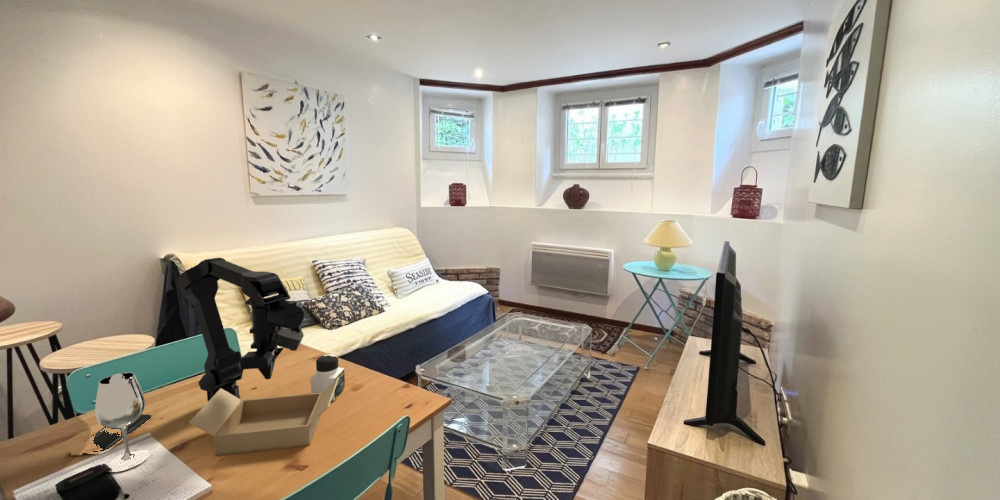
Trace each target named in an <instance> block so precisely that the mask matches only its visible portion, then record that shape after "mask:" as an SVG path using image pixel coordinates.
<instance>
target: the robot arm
mask: <svg viewBox="0 0 1000 500" xmlns="http://www.w3.org/2000/svg"><path fill="white" fill-rule="evenodd" d="M220 280H222V281H225V282H227V283H229V284H231V285H235V286H236V287H239V288H240V289H241V293H242V294H243V295H245V296H246V297H248V298H249V299H247V300H246V301H245V305H248V306H251V322H252V323H251V324H252V327H251V328H250V329H249V334H252V339H253V342H252V343H251V344H250V350H251V349H252V350H255V351H248V352H247V353H245V354H244V356H242V354H241V352H240V351H239V350H237V351H235V350H233V349H232V348H231V347H230V345H229V341H228V338H227V334H226V331H225V328H224V325H223V321H222V319H221V318H222V317H221V315H220V312H219V308H218V306H217V301H216V296H217V294H218V290H219V289H220V288H219V281H220ZM176 286H177V288H178V289H179V290H180V292H181V293H180V294H181V295H182V297H183V298H185V300H187V301H189V302H190V303H191V304H192V306H193V308H194V311H195V315H196V319H197V321H198V324H199V327H200V331H201V335H202V338H203V341H204V342H203V343H204V344H205V347H206V352H207V356H206V360H205V362H204V364H203V367H204V372H205V373H204V374H203V375H202V377H201V378H200V380H199V381H198V385H199V389H200V390H202V391H205V392H206V398H207V402H208V401H209V400H210V399H211V398H212V397H213V396H214V395H215V394H216V393H217V392H218V391H219V390H220V388H221V389H223V390H225V391H227V392H228V393H230V394H232V395H234V396H235V397H237V398H239V399H241V395H240V387H239V385H237V381H240V380H242V378H243V373H244V371H245V370H255V369H256V370H258V371H259V372H260V373H261V375H262V376H263V377H264V379H265V380H271V379H272V377H273V372H274V368H275V365H276V360H277V358H278V357H279V355H280V354H281V353H282V352H283V351H284V349H288V350H289V351H292V352H294V351H297V350H298V348H299V347H300V345H301V343H302V341H303V338H304V337H305V335H304V332H303V330H302V326H301V324H302V323H303V320H304V318H305V312H304V310H303V308H302V307H301V306H299V305H297V303H298V302H297V301H296V300H290V299H291V296H290V294H289V291H288V289H286V286H285V285H284V284H283V282H282V280H281V278H280V277H279V275H278V274H277V273H275V272H271V271H254V270H250V269H249V268H245V267H243V266H240V265H237V264H235V263H232V262H230V261H227V260H226V259H225V258H223V257H214V258H212V257H211V258H207V259H204V260H202V261H200V262H199V263H198V264H196V265H194V266H192V267H190V268H189V269H186V270H185V271H184V272H182V273H180V274H179V277H177V280H176Z"/></svg>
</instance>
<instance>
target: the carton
mask: <svg viewBox="0 0 1000 500" xmlns="http://www.w3.org/2000/svg"><path fill="white" fill-rule="evenodd" d="M321 394H322V393H303V394H301V393H300V394H292V395H280V396H271V397H269V396H268V397H261V398H250V399H241V401H240V403H239V404H238V405H237V407H236V408H235V409H234V410H233V412H232V413H231V414H230V415H229V417H228V418H227V419H226V421H225V422H224V423H223V424H222V426H221V427H220V428H219V429H218V431H217V432H216V433H215V435H214V436H213V442H214V444H213V445H214V453H215V455H214V456H215V457H221V456H229V455H238V454H246V453H255V452H261V451H262V452H264V451H271V450H278V449H287V448H295V447H304V446H310V445H311V443H312V441H313V440H312V439H313V438H314V435H315V431H316V430H317V427H318V425H319V421H320V420H321V419H320V418H321V417H322V414H321V415H320V416H319V417H318V418H317V419H316V420H315V421H314V422H313V423H312V424H311V425H309V423H310V421H311V418H312V416H313V413H314V411H315V409H316V406H317V404H318V401H319V399H320V397H321Z"/></svg>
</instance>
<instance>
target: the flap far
mask: <svg viewBox="0 0 1000 500" xmlns="http://www.w3.org/2000/svg"><path fill="white" fill-rule="evenodd" d="M338 380H339V377H338V378H337V379H336V380H335V381H333V382H332V383H331V384H330V385H329V386H328V387H327V388H326V389H325V390H324V391H323V392H322V394H321V397H320V399H319V401H318V404H317V406H316V409H315V411H314V413H313V416H312V418H311V421H310V423H309V425H311V424H312V423H313V422H314V421H315V420H316V419H317V418H318V417H319V416H320V415H321V416H322V414H323V413H324V412H325V411H327V409H328V408H330V405H331V402H332V401H331V399H332V396H333V394H334V391H335V388H336V385H337V383H338Z"/></svg>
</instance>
